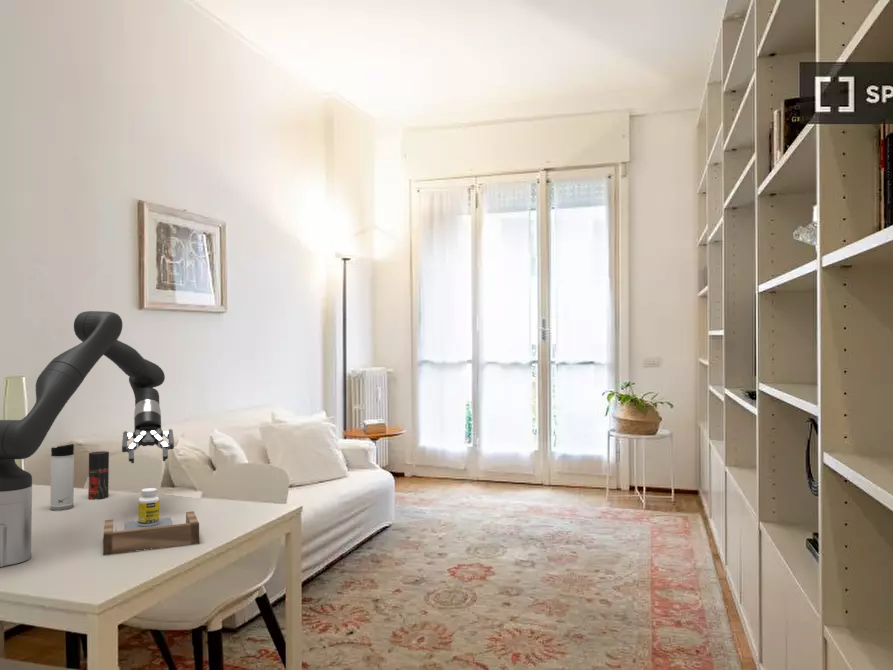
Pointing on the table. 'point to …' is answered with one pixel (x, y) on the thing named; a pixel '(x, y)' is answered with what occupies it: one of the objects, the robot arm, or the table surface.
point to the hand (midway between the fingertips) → (148, 460)
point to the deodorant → (98, 475)
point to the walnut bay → (150, 536)
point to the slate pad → (135, 525)
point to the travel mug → (62, 477)
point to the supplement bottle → (148, 508)
